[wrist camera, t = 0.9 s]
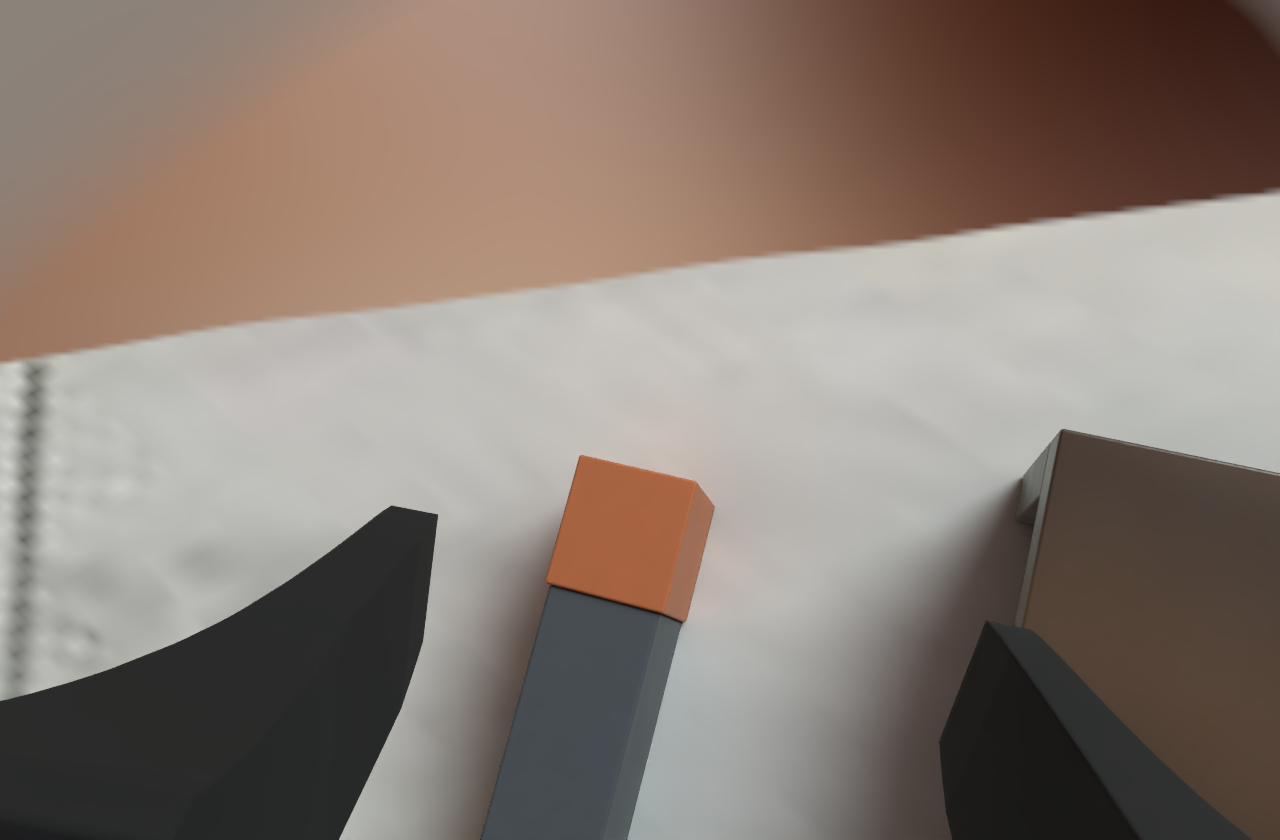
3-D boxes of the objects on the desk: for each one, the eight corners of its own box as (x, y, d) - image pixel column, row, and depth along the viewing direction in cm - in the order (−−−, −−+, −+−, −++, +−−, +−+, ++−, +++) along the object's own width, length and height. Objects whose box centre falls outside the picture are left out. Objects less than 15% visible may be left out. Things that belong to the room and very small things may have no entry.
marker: (556, 1139, 26) (513, 1206, 22) (445, 1096, 26) (386, 1155, 23) (715, 505, 28) (697, 481, 25) (610, 481, 29) (579, 454, 26)
